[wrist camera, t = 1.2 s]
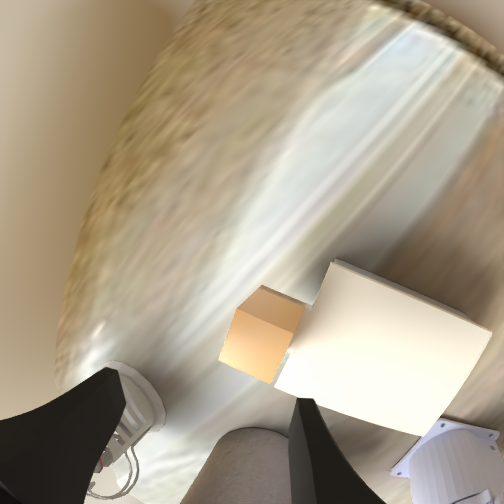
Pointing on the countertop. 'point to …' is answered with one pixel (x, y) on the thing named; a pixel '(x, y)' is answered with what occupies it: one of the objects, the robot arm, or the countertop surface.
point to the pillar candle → (244, 470)
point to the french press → (131, 421)
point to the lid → (358, 349)
